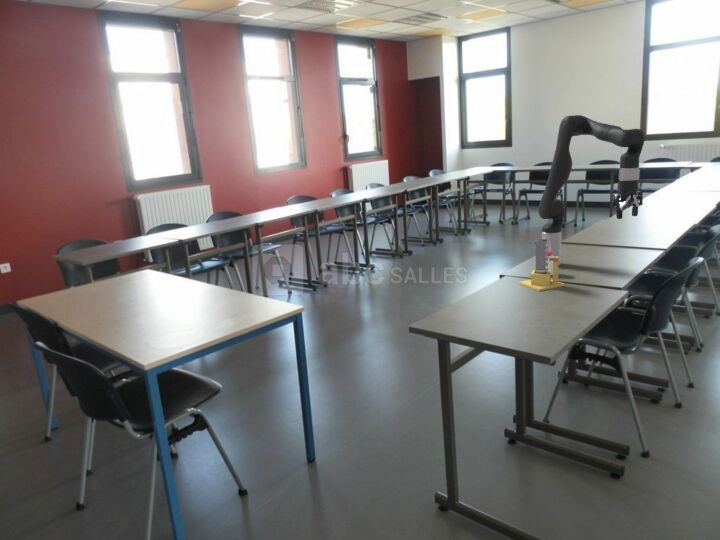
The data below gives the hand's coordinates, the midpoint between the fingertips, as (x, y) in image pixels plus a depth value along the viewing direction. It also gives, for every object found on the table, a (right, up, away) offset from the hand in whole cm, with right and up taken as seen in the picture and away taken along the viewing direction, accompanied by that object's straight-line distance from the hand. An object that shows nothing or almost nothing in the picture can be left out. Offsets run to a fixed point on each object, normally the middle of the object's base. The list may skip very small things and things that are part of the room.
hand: (627, 217), depth 224 cm
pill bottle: (-23, -24, +32) cm, 47 cm away
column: (-31, -28, +15) cm, 44 cm away
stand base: (-31, -29, +15) cm, 45 cm away
